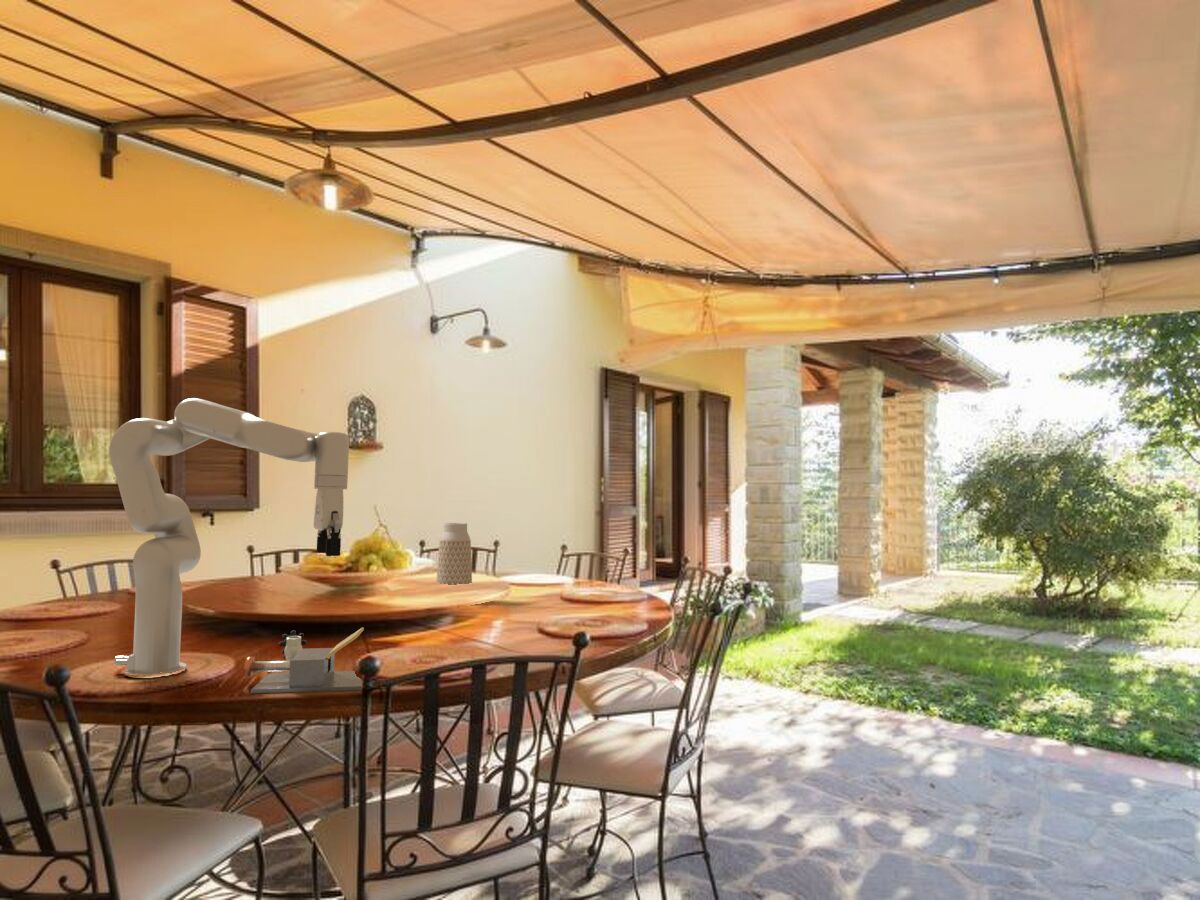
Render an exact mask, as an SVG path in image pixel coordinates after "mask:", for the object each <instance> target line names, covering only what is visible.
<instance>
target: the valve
mask: <svg viewBox="0 0 1200 900" xmlns="http://www.w3.org/2000/svg"><path fill="white" fill-rule="evenodd" d="M303 637H304V633H302V632H300V633H298V635H297V634H296V630H294V629H293V630H291V631H290V635H288V634H287V633H284V634H282V638H283V639H284V641H280V642H278V646H279V647H283V649H282V650H281V653H282V654H283V655H284V656H285V661H290V660H291V659H292V658H293V657H295V656H296V655H297V654H298V653H299V652H300V651H301V650H302V649H303V646H305V645H307V640H306V639H303V640H302V638H303Z"/></svg>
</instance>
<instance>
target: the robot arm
mask: <svg viewBox="0 0 1200 900" xmlns="http://www.w3.org/2000/svg"><path fill="white" fill-rule="evenodd" d="M173 414H174V415H173V417H174V418H173V419H170V420H168V421H166V420H165V421H164V420H161V419H155V418H147V417H140V418H134V419H131V420H128V421H126V422H125V423H123V424H122V425H120V427H118V428H117V429H116V431H115V432H114V434H113V436H112V437H111V440H110V443H109V446H108V448H109V449H108V454H109V460H110V464H111V468H112V470H113V472H114V476H115V479H116V482H117V485H118V490H119V493H120V497H121V500H122V504H123V508H124V511H125V514H126V518H127V521H128V524H129V526H130V527H131V529H133V531H134V532H137V533H140V534H154V538H151V539H149V540H146V541H144V542H143V543H142V544H140V545H139V546H138V548H137V549H136V551H135V553H134V555H133V559H132V568H133V575H134V582H135V586H134V587H135V597H134V598H135V599H134V601H135V602H134V607H135V608H134V609H135V610H134V626H133V627H134V628H133V649H132V653H131V654H130V655H116V656H115V658H114V660H113V663H114V665H115V667H116V666H126V667H127V668H126V669H125V670H124V671H123V674H124V673H126V674H129V675H152V674H162V673H172V672H176V671H179V670H182V669H184V668H186V667H187V668H188V664H187V663H185V662H182V661H181V659H180V657H181V642H182V641H181V638H182V637H181V636H182V617H183V613H182V612H183V587H182V582H181V578H180V575H182V574H185V573H188V572H190V571H192V570H193V569H194V568H195V567H196V566H197V565H198V563H199V562H200V559H201V555H202V554H201V553H202V551H201V550H202V549H201V545H200V541H199V538H198V534H197V531H196V527H195V523H194V521H193V517H192V514H191V511H190V508H189V507H188V505H187V503H186V501H184V499H183V498H181V497H179V496H177V495H175V494H171V493H165V490H164V488H163V485H162V483H161V479H160V474H159V472H158V470H157V468H156V467H155V465H154V463H153V462H152V460H151V455H152V456H153V455H154V456H161V457H163V456H164V457H168V456H175V455H177V454H180V453H183V452H185V451H187V450H189V449H190V448H193V447H195V446H197V445H200V444H202V443H204V442H206V441H208V440H210V439H212V440H215V441H219V442H222V443H225V444H228V445H231V446H235V447H238V448H242V449H243V448H244V449H248V450H252V451H255V452H258V453H262V454H265V455H268V456H272V457H274V458H275V457H276V458H279V459H283V460H286V461H291V462H299V463H308V462H315V463H314V465H315V467H314V483H313V484H314V487H313V488H314V489H315V490H316V496H315V503H314V517H313V528H314V529H316V530H317V534H316V535H317V536H316V553H318V554H325V556H326V557H339V556H340V555H341V546H342V541H341V539H342V533H341V531H342V528H343V524H344V490H348V481H349V480H348V479H349V476H348V475H349V456H350V455H349V452H350V438H349V435H348V434H346V433H344V432H339V431H337V432H336V431H323V432H319V433H316V432H310V431H309V432H308V431H306V430H301V429H298V428H294V427H289V426H285V425H282V424H279V423H276V422H273V421H268V420H265V419H262V418H260V417H257V416H256V415H254V414H253V413H251V412H248V411H244V410H240V409H237V408H233V407H229V406H226V405H223V404H219V403H216V402H213V401H210V400H207V399H202V398H198V397H197V398H196V397H191V398H186V399H184V400H182V401H180V402H179V403H178V404H177V406H176V407H175V409H174V413H173ZM160 672H162V673H160Z"/></svg>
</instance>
